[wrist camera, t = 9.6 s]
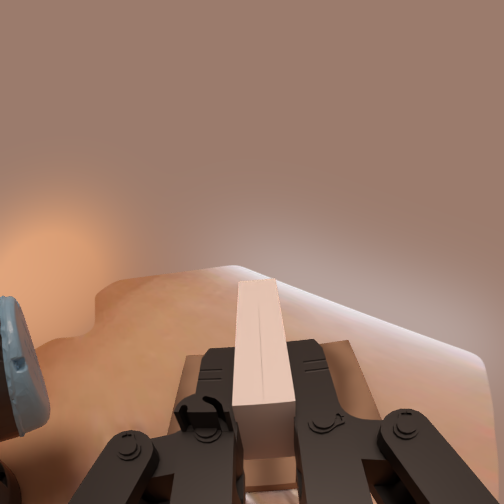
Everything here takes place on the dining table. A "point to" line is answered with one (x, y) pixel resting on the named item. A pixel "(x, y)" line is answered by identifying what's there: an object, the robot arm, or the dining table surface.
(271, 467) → the board
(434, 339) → the dining table surface
